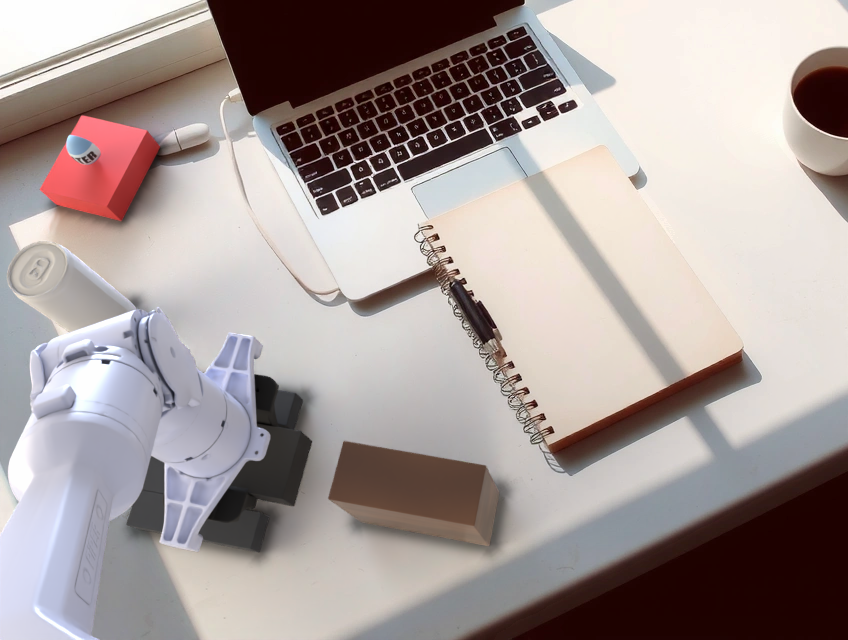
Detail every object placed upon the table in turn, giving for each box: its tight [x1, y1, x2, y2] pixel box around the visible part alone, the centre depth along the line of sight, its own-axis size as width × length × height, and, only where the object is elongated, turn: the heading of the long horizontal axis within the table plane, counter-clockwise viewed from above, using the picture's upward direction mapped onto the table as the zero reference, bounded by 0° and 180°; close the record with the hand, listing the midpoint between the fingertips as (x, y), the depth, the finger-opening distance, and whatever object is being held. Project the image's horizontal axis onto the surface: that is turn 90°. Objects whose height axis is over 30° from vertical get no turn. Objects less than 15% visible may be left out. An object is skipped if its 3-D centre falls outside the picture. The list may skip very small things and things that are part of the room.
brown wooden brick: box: [327, 440, 500, 547], centre depth 66 cm, size 4×10×10 cm, turn 79°
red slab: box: [39, 114, 161, 222], centre depth 82 cm, size 8×7×6 cm
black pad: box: [230, 424, 313, 507], centre depth 69 cm, size 5×8×3 cm, turn 79°
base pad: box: [125, 389, 304, 553], centre depth 72 cm, size 12×10×2 cm
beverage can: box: [6, 240, 137, 333], centre depth 73 cm, size 5×5×12 cm
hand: (254, 464), depth 71 cm, fingers closed on black pad, 5 cm apart
